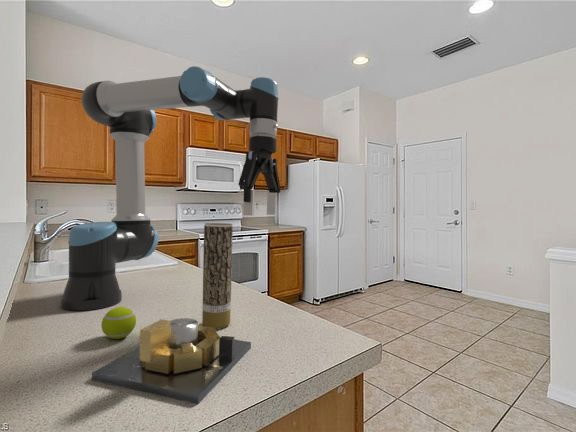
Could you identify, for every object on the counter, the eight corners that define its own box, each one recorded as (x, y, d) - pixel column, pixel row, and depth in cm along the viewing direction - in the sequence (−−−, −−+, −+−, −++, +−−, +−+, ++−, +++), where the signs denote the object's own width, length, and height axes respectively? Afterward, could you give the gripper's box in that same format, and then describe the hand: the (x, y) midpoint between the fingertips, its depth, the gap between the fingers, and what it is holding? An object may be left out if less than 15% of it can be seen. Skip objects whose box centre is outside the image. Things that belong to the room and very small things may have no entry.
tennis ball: (137, 340, 69) (138, 309, 68) (101, 346, 65) (102, 314, 65) (134, 329, 74) (134, 301, 74) (100, 335, 71) (101, 305, 71)
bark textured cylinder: (235, 322, 81) (237, 223, 80) (221, 332, 74) (223, 225, 74) (212, 318, 83) (214, 222, 82) (196, 327, 77) (198, 223, 76)
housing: (91, 379, 53) (92, 336, 53) (168, 334, 72) (169, 303, 72) (198, 403, 47) (199, 355, 47) (251, 347, 66) (251, 313, 66)
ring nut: (172, 335, 68) (173, 298, 68) (229, 344, 64) (230, 305, 64) (110, 372, 52) (111, 325, 52) (181, 387, 49) (182, 336, 48)
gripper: (252, 125, 75) (250, 216, 75) (292, 145, 98) (290, 215, 98) (225, 127, 78) (223, 214, 78) (270, 146, 101) (268, 214, 101)
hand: (260, 215), depth 88 cm, fingers open, 13 cm apart
